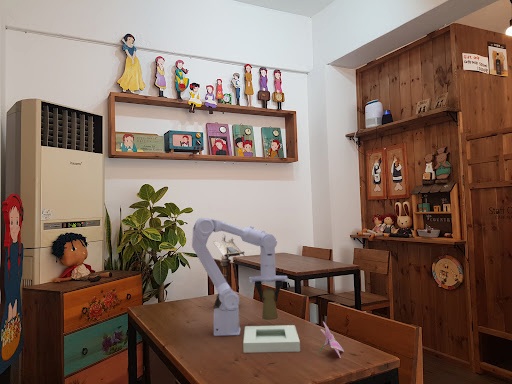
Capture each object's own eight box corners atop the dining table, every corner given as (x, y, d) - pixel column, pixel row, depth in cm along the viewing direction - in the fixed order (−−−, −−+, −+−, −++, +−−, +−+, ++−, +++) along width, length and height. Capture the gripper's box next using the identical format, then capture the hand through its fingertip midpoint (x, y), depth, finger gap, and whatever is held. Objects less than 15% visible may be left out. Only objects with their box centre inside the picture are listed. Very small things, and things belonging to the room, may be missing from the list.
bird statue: (252, 310, 175) (250, 232, 177) (228, 315, 167) (226, 234, 169) (233, 303, 188) (231, 231, 190) (209, 307, 181) (208, 233, 183)
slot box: (243, 352, 122) (243, 343, 122) (245, 334, 140) (245, 326, 140) (300, 351, 122) (299, 341, 122) (294, 333, 140) (294, 325, 140)
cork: (277, 319, 144) (275, 290, 144) (261, 319, 145) (259, 290, 145) (278, 315, 150) (277, 286, 150) (263, 315, 151) (261, 287, 151)
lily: (327, 367, 112) (341, 340, 112) (300, 344, 119) (314, 319, 119) (344, 367, 120) (357, 342, 120) (318, 346, 127) (330, 322, 127)
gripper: (248, 267, 144) (249, 303, 143) (287, 266, 144) (288, 302, 143) (249, 264, 151) (250, 299, 150) (286, 263, 151) (287, 298, 150)
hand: (268, 300), depth 147 cm, fingers closed on cork, 5 cm apart
